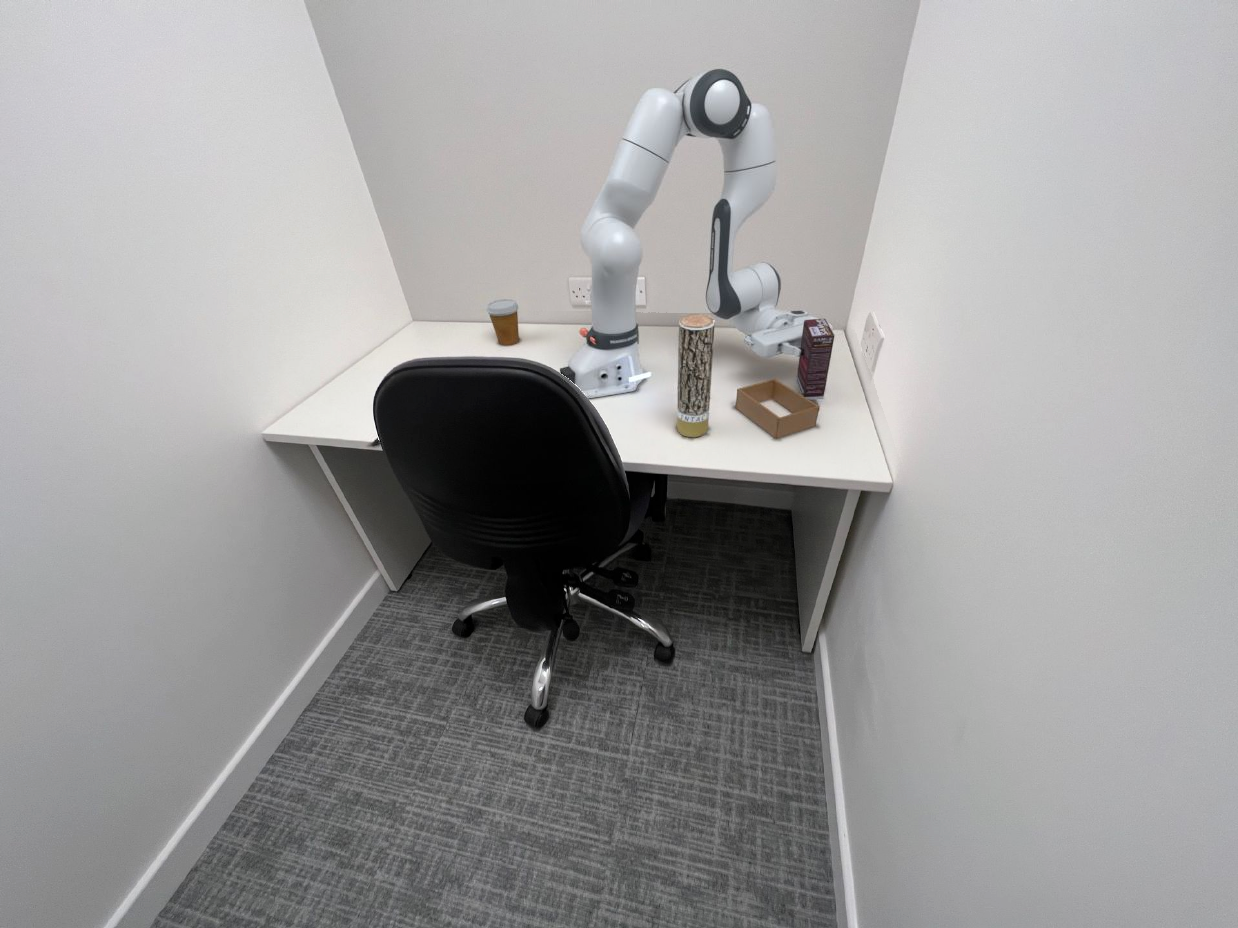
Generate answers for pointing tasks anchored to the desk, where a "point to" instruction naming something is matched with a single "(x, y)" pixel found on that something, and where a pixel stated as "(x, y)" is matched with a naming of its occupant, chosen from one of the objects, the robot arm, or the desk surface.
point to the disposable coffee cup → (504, 320)
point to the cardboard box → (793, 401)
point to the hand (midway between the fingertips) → (814, 349)
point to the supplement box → (814, 358)
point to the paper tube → (694, 374)
